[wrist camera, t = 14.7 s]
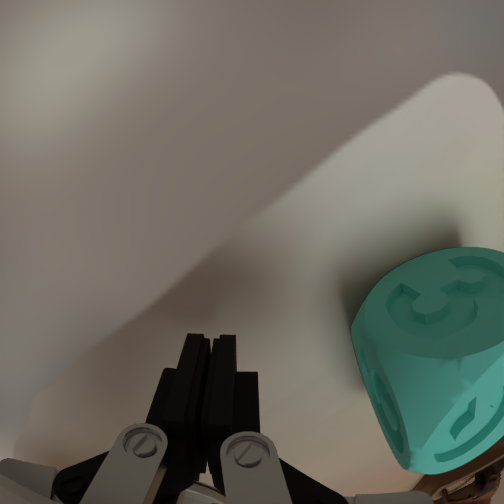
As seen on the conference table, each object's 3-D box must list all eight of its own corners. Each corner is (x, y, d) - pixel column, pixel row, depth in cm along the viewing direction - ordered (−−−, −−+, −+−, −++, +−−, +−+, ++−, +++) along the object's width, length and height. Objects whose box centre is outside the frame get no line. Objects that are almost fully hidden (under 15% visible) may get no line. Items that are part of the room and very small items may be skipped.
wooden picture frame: (472, 484, 25) (479, 495, 22) (383, 521, 25) (388, 535, 22) (522, 422, 21) (532, 434, 18) (430, 469, 20) (439, 487, 17)
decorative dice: (466, 341, 15) (534, 411, 8) (365, 395, 16) (410, 496, 8) (461, 232, 13) (571, 283, 5) (336, 290, 14) (412, 406, 6)
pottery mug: (491, 461, 24) (486, 506, 18) (440, 470, 29) (433, 515, 23) (517, 441, 18) (514, 497, 12) (456, 454, 23) (448, 512, 17)
